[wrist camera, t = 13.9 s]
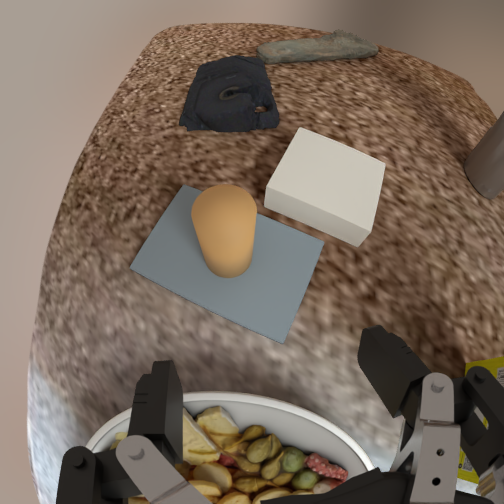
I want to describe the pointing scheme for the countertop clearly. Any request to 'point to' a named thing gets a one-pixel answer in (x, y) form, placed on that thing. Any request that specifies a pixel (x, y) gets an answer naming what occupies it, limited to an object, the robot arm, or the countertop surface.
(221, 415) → the bowl
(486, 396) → the robot arm
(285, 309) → the mat
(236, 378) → the countertop surface
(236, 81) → the black flat bumpy piece
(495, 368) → the food package
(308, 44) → the long grey stone
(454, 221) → the countertop surface
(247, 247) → the tan rounded cylinder
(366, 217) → the white square block
